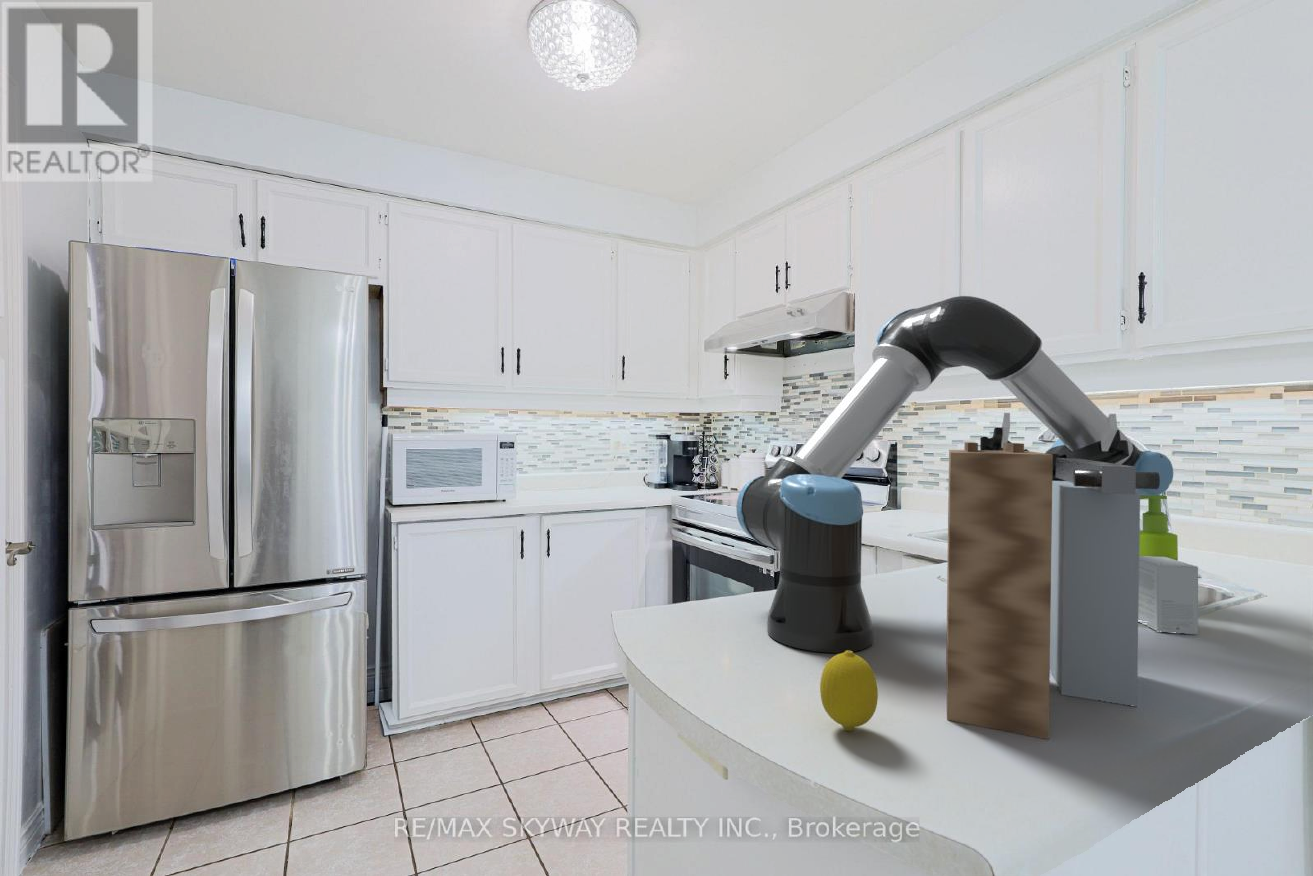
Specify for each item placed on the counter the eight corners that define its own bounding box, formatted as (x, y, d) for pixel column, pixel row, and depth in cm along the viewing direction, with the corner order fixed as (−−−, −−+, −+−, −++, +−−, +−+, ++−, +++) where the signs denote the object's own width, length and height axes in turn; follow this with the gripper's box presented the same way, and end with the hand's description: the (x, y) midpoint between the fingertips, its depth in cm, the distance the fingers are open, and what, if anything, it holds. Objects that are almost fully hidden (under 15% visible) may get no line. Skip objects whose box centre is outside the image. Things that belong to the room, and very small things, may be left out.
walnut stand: (946, 719, 63) (950, 442, 63) (946, 662, 79) (949, 442, 79) (1048, 739, 59) (1052, 444, 59) (1025, 674, 75) (1029, 443, 75)
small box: (1198, 636, 91) (1200, 566, 91) (1156, 633, 92) (1157, 564, 92) (1165, 620, 99) (1166, 556, 99) (1127, 617, 100) (1128, 554, 100)
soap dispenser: (1121, 603, 109) (1119, 493, 109) (1163, 603, 108) (1161, 492, 108) (1142, 612, 103) (1140, 496, 103) (1187, 613, 102) (1185, 496, 102)
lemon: (811, 718, 63) (812, 642, 63) (862, 716, 63) (863, 641, 63) (831, 745, 57) (832, 661, 57) (887, 743, 58) (888, 660, 58)
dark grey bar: (1077, 492, 63) (1077, 465, 63) (1038, 476, 88) (1038, 457, 88) (1161, 495, 60) (1161, 467, 60) (1096, 478, 85) (1096, 458, 85)
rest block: (1061, 694, 69) (1064, 487, 69) (1045, 660, 80) (1048, 480, 80) (1137, 707, 66) (1140, 490, 66) (1109, 669, 77) (1112, 482, 77)
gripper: (1128, 508, 101) (1165, 444, 84) (961, 497, 112) (966, 439, 95) (1123, 468, 104) (1158, 400, 88) (962, 462, 115) (966, 400, 99)
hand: (1058, 420), depth 92 cm, fingers open, 13 cm apart
